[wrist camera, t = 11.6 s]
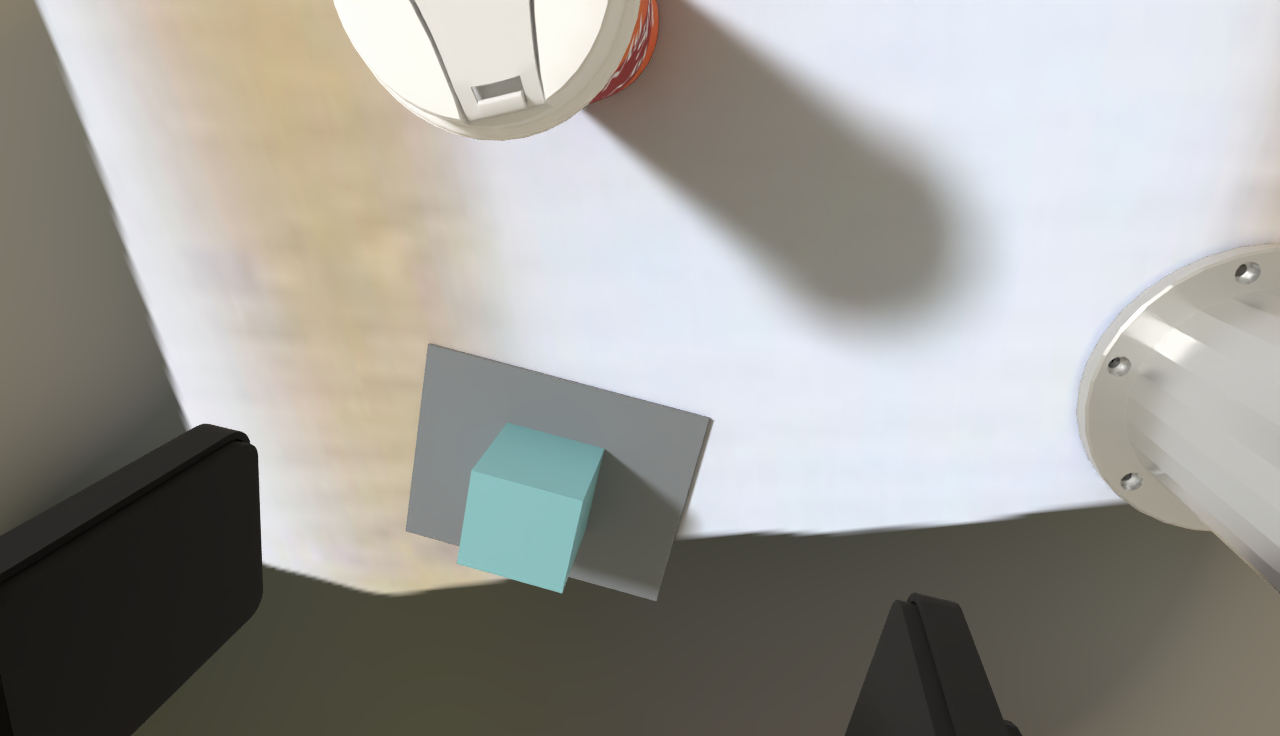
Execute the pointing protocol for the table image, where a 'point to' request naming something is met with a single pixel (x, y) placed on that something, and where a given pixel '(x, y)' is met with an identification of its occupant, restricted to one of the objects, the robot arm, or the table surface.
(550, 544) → the teal block
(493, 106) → the paper cup
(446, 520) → the slate mat
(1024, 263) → the table surface
